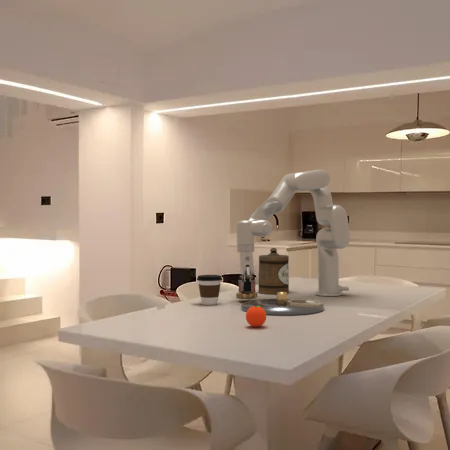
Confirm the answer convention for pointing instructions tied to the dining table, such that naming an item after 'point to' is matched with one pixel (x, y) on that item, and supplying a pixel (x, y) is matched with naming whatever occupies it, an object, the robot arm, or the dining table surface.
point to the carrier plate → (285, 306)
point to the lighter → (252, 284)
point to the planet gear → (246, 293)
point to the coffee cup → (209, 288)
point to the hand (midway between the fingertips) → (246, 289)
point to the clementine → (256, 316)
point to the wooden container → (273, 273)
